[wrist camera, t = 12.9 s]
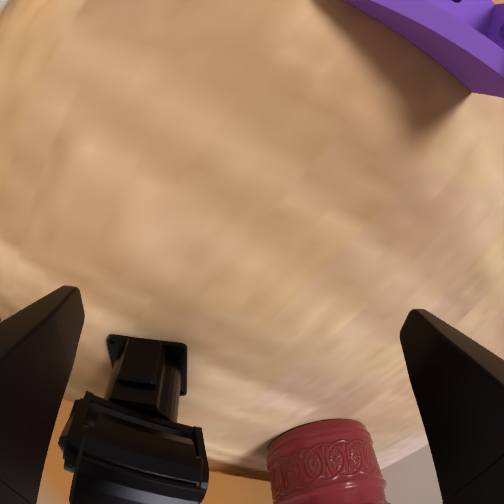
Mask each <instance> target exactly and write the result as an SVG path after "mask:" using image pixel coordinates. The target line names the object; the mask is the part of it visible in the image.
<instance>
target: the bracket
mask: <svg viewBox="0 0 504 504" xmlns="http://www.w3.org/2000/svg"><path fill="white" fill-rule="evenodd" d="M343 1H344V2H346V3H348V4H350V5H352V6H354V7H355V8H357V9H359V10H361V11H363V12H364V13H366V14H368V15H369V16H371V17H373V18H374V19H376V20H378V21H379V22H381V23H382V24H384V25H386V26H387V27H389V28H390V29H392V30H393V31H395V32H396V33H398V34H399V35H401V36H402V37H404V38H405V39H407V40H408V41H410V42H411V43H412V44H414V45H415V46H416V47H418V48H419V49H421V50H422V51H423V52H425V53H426V54H427V55H429V56H430V57H431V58H432V59H434V60H435V61H436V62H437V63H439V64H440V65H441V66H442V67H444V68H445V69H446V70H447V71H449V72H450V73H451V74H452V75H453V76H454V77H456V78H457V79H458V80H459V81H460V82H461V83H462V84H464V85H465V86H466V87H467V88H468V89H469V90H470V91H471V92H473V93H479V94H486V95H492V96H497V97H503V98H504V4H496V5H495V4H494V3H493V2H492V1H491V0H343Z"/></svg>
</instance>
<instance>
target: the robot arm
mask: <svg viewBox="0 0 504 504" xmlns="http://www.w3.org/2000/svg"><path fill="white" fill-rule="evenodd" d="M84 316H85V315H84V309H83V304H82V299H81V294H80V290H79V289H78V288H77V287H74V286H66V285H65V286H62V287H60V288H58V289H57V290H55V291H53V292H51V293H50V294H48V295H46V296H44V297H43V298H41V299H39V300H38V301H36V302H34V303H32V304H31V305H29V306H27V307H26V308H24V309H22V310H21V311H19V312H17V313H16V314H14V315H12V316H11V317H9V318H7V319H6V320H4V321H2V322H1V323H0V504H36V502H37V497H38V492H39V487H40V481H41V477H42V472H43V468H44V463H45V459H46V455H47V451H48V447H49V443H50V440H51V436H52V432H53V428H54V425H55V421H56V418H57V414H58V411H59V408H60V405H61V401H62V398H63V395H64V392H65V389H66V386H67V383H68V380H69V377H70V374H71V371H72V367H73V363H74V359H75V355H76V350H77V346H78V342H79V338H80V334H81V331H82V327H83V323H84ZM113 340H114V341H113ZM400 341H401V345H402V349H403V353H404V357H405V361H406V366H407V370H408V374H409V378H410V382H411V386H412V389H413V392H414V395H415V398H416V401H417V405H418V408H419V411H420V414H421V418H422V421H423V425H424V428H425V432H426V435H427V439H428V442H429V446H430V449H431V453H432V457H433V461H434V465H435V469H436V473H437V478H438V482H439V486H440V491H441V496H442V500H443V504H504V360H503V359H501V358H500V357H498V356H497V355H495V354H494V353H492V352H491V351H489V350H487V349H486V348H484V347H483V346H481V345H480V344H478V343H477V342H475V341H474V340H472V339H471V338H469V337H467V336H466V335H464V334H463V333H461V332H460V331H458V330H457V329H455V328H453V327H452V326H450V325H449V324H447V323H446V322H444V321H442V320H441V319H439V318H438V317H436V316H434V315H433V314H431V313H430V312H428V311H426V310H425V309H413V310H411V311H410V312H409V314H408V316H407V318H406V320H405V322H404V324H403V327H402V329H401V331H400ZM107 344H108V349H109V354H110V358H111V363H112V368H113V370H112V374H111V377H110V380H109V384H108V387H107V390H106V394H105V397H104V399H103V398H100V397H98V396H95V395H93V393H91V392H88V391H86V393H85V396H84V398H81V399H80V400H75V402H74V405H73V408H72V411H71V414H70V417H69V419H68V421H67V423H66V425H65V427H64V430H63V431H62V434H61V436H60V438H59V442H58V445H59V447H60V449H61V450H62V452H63V459H64V460H65V462H64V470H66V471H69V472H71V473H74V475H73V480H72V486H71V491H70V497H69V502H70V504H200V503H201V502H202V500H203V499H204V496H205V494H206V490H207V487H208V480H209V467H208V461H207V456H206V450H205V445H204V439H203V433H202V428H200V427H196V426H194V427H191V426H188V425H184V424H180V423H177V416H178V405H179V396H184V395H186V393H187V346H186V345H185V344H183V343H177V342H167V341H159V340H150V339H143V338H135V337H128V336H121V335H114V334H111V335H109V336H108V339H107ZM180 349H183V350H180Z"/></svg>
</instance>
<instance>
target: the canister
mask: <svg viewBox="0 0 504 504" xmlns="http://www.w3.org/2000/svg"><path fill="white" fill-rule="evenodd" d="M267 469H268V471H269V474H270V482H271V490H272V498H273V504H391V503H388V502H387V501H386V498H385V493H384V488H385V487H386V481H385V480H384V479H383V477H382V474H381V471H380V467H379V464H378V461H377V458H376V455H375V452H374V449H373V441H372V439H371V435H370V434H369V432H368V431H367V430H366V428H365V426H364V425H363V424H362V423H360V422H358V421H355V420H349V419H332V420H324V421H319V422H314V423H310V424H307V425H304V426H300V427H298V428H295V429H293V430H290V431H288V432H286V433H284V434H283V435H281V436H280V437H278V438H277V439H275V440H274V441H273V442H272V443H271V444H270V446H269V448H268V456H267Z"/></svg>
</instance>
